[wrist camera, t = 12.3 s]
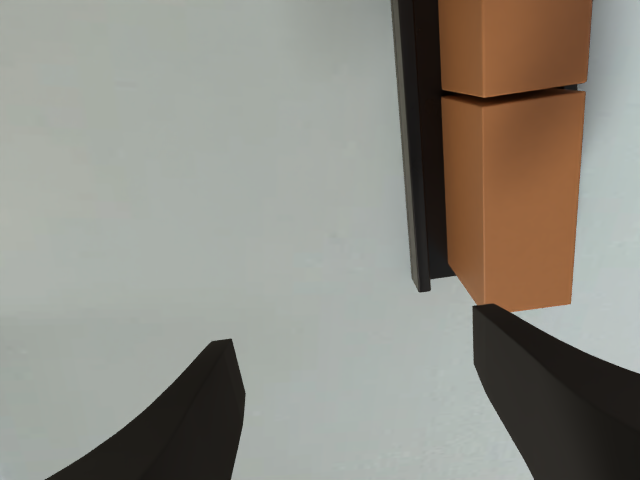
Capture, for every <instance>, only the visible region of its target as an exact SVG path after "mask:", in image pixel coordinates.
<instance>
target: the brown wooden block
mask: <svg viewBox="0 0 640 480" xmlns="http://www.w3.org/2000/svg"><path fill="white" fill-rule="evenodd" d="M592 2H593V0H438V10H439V34H440V58H441V82H442V89H443V90H447V91H452V92H457V93H463V94H468V95H473V96H478V97H483V98H487V97H494V96H500V95H507V94H514V93H520V92H527V91H534V90H540V89H547V88H554V87H560V86H567V85H574V84H581V83H585V82H586V81H587V74H588V59H589V45H590V31H591V17H592Z"/></svg>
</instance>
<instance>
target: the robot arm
mask: <svg viewBox="0 0 640 480" xmlns="http://www.w3.org/2000/svg"><path fill="white" fill-rule="evenodd" d="M473 351H474V365H475V368H476V370H477V373H478V375H479V378H480V380H481V383H482V385H483V388H484V390H485V392H486V394H487V396H488V398H489V400H490V401H491V403H492V405H493V407H494V408H495V410H496V412H497V414H498V415H499V417H500V419H501V421H502V422H503V424H504V426H505V428H506V429H507V431H508V433H509V434H510V436H511V438H512V440H513V441H514V443H515V445H516V446H517V448H518V450H519V452H520V453H521V455H522V457H523V459H524V460H525V462H526V464H527V466H528V468H529V470H530V472H531V474H532V476H533V478H534V480H640V374H639V373H636V372H633V371H630V370H627V369H624V368H622V367H619V366H616V365H614V364H612V363H609V362H607V361H604V360H602V359H599V358H597V357H594V356H592V355H590V354H587V353H585V352H583V351H581V350H579V349H577V348H575V347H573V346H571V345H569V344H566V343H564V342H562V341H560V340H559V339H557V338H555V337H553V336H551V335H549V334H547V333H545V332H544V331H542V330H540V329H538V328H536V327H535V326H533V325H531V324H529V323H528V322H526V321H524V320H522V319H521V318H519V317H517V316H516V315H514V314H512V313H510V312H509V311H507V310H505V309H503V308H502V307H500V306H498V305H496V304H494V303H491V304H484V305H477V306H473ZM245 394H246V393H245V389H244V385H243V381H242V378H241V374H240V370H239V366H238V362H237V358H236V354H235V350H234V346H233V342H232V339H225V340H217V341H212V342H211V343H210V344H209V345H208V346H207V347H206V348H205V349H204V350H203V351H202V352H201V353H200V354H199V355H198V356H197V358H196V359H195V360H194V361H193V362H192V363H191V364H190V365H189V366H188V367H187V368H186V370H185V371H184V372H183V373H182V374H181V375H180V376H179V377H178V378H177V379H176V380H175V381H174V382H173V383H172V384H171V385H170V386H169V387H168V388H167V389H166V390H165V391H164V392H163V393H162V394H161V395H160V396H159V397H158V398H157V399H156V400H155V401H154V402H153V403H152V404H151V405H150V406H149V407H147V408H146V409H145V410H144V411H143V412H142V413H141V414H140V415H138V416H137V417H136V418H135V419H134V420H132V421H131V422H130V423H129V424H127V425H126V426H125V427H124V428H122V429H121V430H120V431H119V432H117V433H116V434H115V435H113V436H112V437H110V438H109V439H108V440H106V441H105V442H103V443H102V444H100V445H99V446H98V447H96V448H95V449H93V450H92V451H91V452H89V453H88V454H86V455H85V456H83V457H82V458H80V459H78V460H77V461H75V462H74V463H72V464H71V465H69V466H67V467H66V468H64V469H62V470H61V471H59V472H57V473H56V474H54V475H52V476H51V477H49V478H47V479H45V480H231V476H232V472H233V467H234V463H235V458H236V454H237V450H238V445H239V440H240V436H241V431H242V426H243V418H244V407H245Z"/></svg>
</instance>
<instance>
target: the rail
mask: <svg viewBox="0 0 640 480" xmlns="http://www.w3.org/2000/svg"><path fill="white" fill-rule="evenodd" d="M391 11H392V24H393V37H394V50H395V63H396V77H397V90H398V103H399V116H400V129H401V143H402V156H403V169H404V182H405V195H406V208H407V222H408V235H409V248H410V261H411V274H412V280H413V281H414V283H415V285H416V288H417V290H418V292H427V291H430V290H431V285H430V279H436V278H443V277H450V276H457V275H456V274H455V272H454V271H453V270H452V268H451V267H450V265H449V264H448V249H447V226H446V202H445V178H444V155H443V131H442V107H441V97H442V96H447V95H454V94H461V93H457V92H452V91H447V90H443V89H442V82H441V58H440V34H439V10H438V0H391ZM554 88H557V89H567V90H577V84H574V85H567V86H560V87H554Z"/></svg>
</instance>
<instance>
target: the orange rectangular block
mask: <svg viewBox="0 0 640 480" xmlns="http://www.w3.org/2000/svg"><path fill="white" fill-rule="evenodd" d="M585 95H586V92H585V91H577V90H567V89H557V88H547V89H540V90H534V91H527V92H520V93H514V94H507V95H500V96H494V97H487V98H483V97H478V96H473V95H468V94H463V93H461V94H454V95H447V96H442V97H441V107H442V131H443V155H444V178H445V202H446V226H447V249H448V264H449V265H450V267H451V268H452V270H453V271H454V272H455V274H456V275H457V277H458V278H459V280H460V281H461V283H462V284H463V285H464V287H465V288H466V290H467V291H468V293H469V294H470V295H471V297H472V298H473V300H474V301H475V303H476V304H477V305H484V304H491V303H494V304H496V305H498V306H500V307H502V308H503V309H505V310H507V311H509V312H515V311H523V310H530V309H538V308H545V307H552V306H560V305H567V304H571V295H572V281H573V267H574V253H575V238H576V224H577V210H578V195H579V181H580V167H581V152H582V138H583V124H584V110H585Z"/></svg>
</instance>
